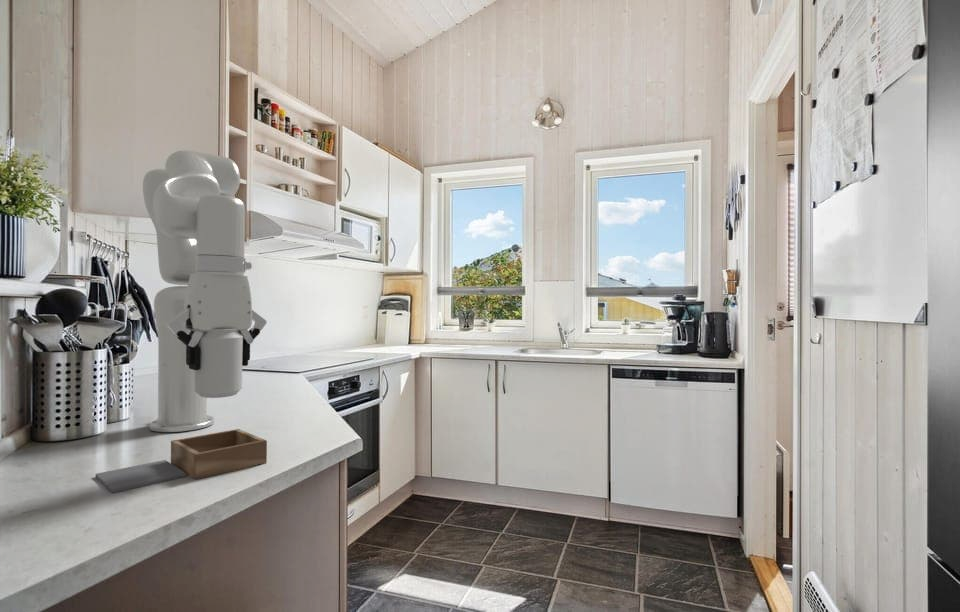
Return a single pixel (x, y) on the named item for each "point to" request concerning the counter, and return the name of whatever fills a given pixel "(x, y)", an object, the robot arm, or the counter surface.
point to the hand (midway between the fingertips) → (219, 366)
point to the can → (219, 363)
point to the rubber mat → (139, 475)
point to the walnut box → (218, 453)
